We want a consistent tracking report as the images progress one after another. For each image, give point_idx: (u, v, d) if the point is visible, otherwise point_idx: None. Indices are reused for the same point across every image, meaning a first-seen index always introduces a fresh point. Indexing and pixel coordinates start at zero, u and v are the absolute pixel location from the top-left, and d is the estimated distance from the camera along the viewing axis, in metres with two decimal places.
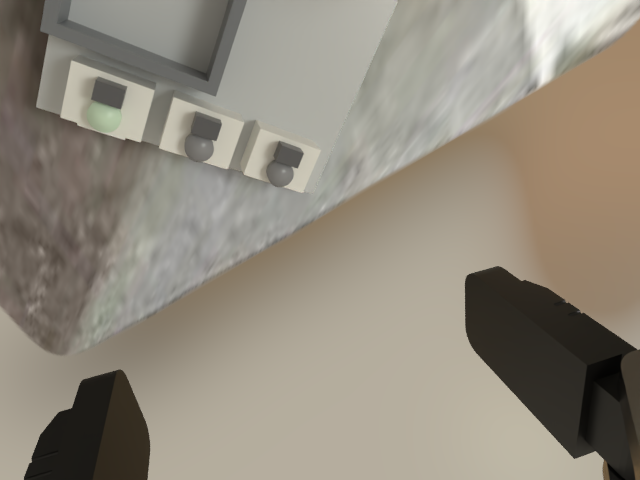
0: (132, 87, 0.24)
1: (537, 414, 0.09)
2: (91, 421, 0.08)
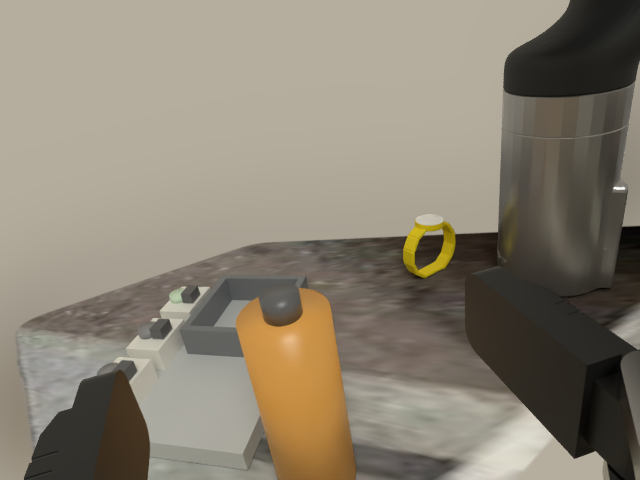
0: (192, 305, 0.41)
1: (537, 414, 0.09)
2: (91, 421, 0.08)
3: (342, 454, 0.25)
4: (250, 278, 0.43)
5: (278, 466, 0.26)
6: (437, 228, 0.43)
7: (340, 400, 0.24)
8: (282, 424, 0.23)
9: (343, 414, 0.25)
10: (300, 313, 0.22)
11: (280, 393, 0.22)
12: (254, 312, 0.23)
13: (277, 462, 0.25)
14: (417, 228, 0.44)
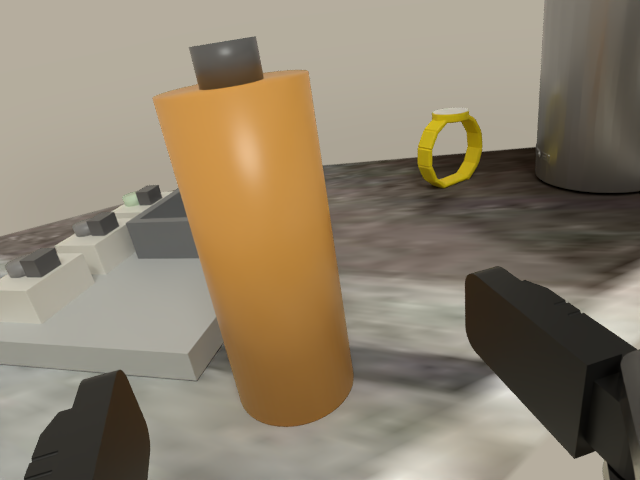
0: (150, 206, 0.32)
1: (537, 414, 0.09)
2: (91, 421, 0.08)
3: (330, 334, 0.16)
4: None
5: (232, 354, 0.17)
6: (460, 118, 0.35)
7: (326, 240, 0.15)
8: (230, 265, 0.14)
9: (331, 268, 0.16)
10: (258, 74, 0.14)
11: (223, 201, 0.13)
12: (188, 89, 0.15)
13: (230, 347, 0.16)
14: (435, 121, 0.35)
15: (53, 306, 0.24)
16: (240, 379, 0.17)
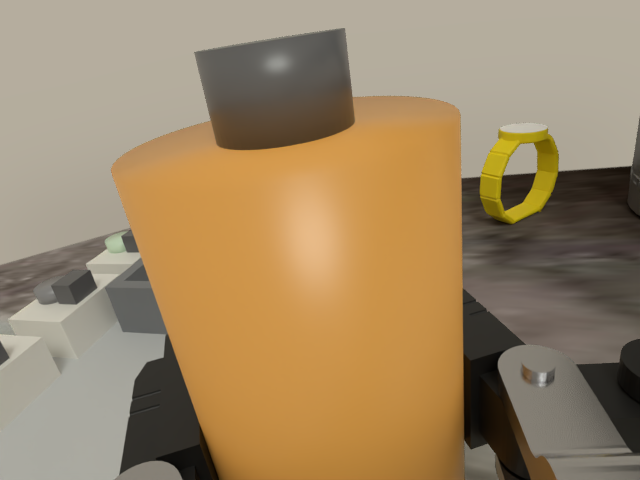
0: None
1: None
2: None
3: None
4: None
5: None
6: (539, 138, 0.27)
7: (462, 431, 0.08)
8: None
9: None
10: (349, 113, 0.06)
11: (272, 409, 0.06)
12: (192, 137, 0.07)
13: None
14: (504, 141, 0.28)
15: None
16: None
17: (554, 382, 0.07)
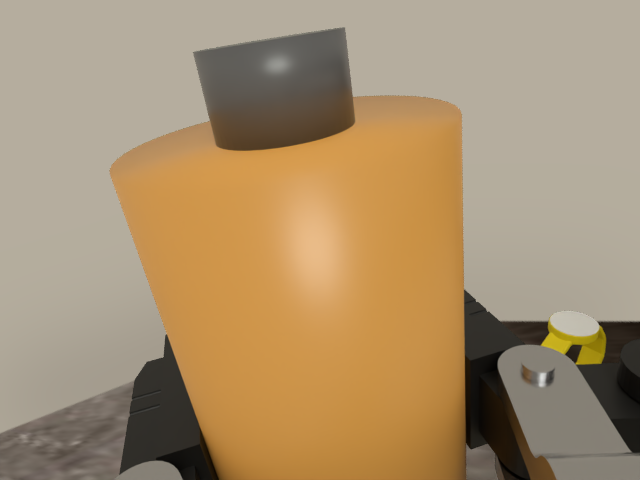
0: None
1: None
2: None
3: None
4: None
5: None
6: (591, 340, 0.27)
7: (463, 433, 0.08)
8: None
9: (464, 473, 0.08)
10: (349, 113, 0.06)
11: (274, 412, 0.06)
12: (191, 138, 0.07)
13: None
14: (555, 337, 0.28)
15: None
16: None
17: (554, 382, 0.07)
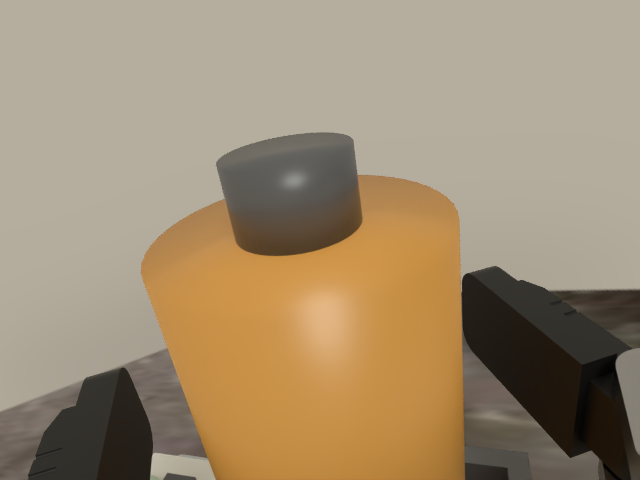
0: None
1: (534, 414, 0.09)
2: (95, 418, 0.08)
3: None
4: None
5: None
6: None
7: None
8: None
9: None
10: (357, 216, 0.07)
11: None
12: (211, 226, 0.08)
13: None
14: None
15: None
16: None
17: None
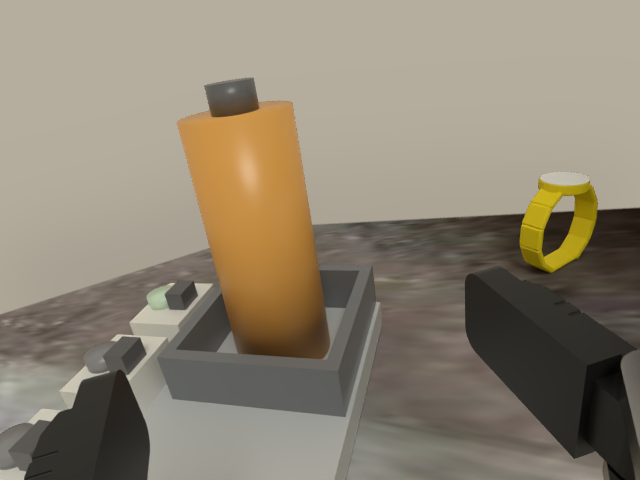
0: (184, 312, 0.24)
1: (537, 415, 0.09)
2: (91, 421, 0.08)
3: (310, 304, 0.21)
4: None
5: (233, 320, 0.21)
6: (582, 190, 0.27)
7: (306, 230, 0.20)
8: (233, 247, 0.19)
9: (311, 252, 0.21)
10: (255, 105, 0.18)
11: (229, 198, 0.18)
12: (202, 115, 0.19)
13: (232, 314, 0.21)
14: (545, 191, 0.28)
15: None
16: (239, 341, 0.22)
17: None
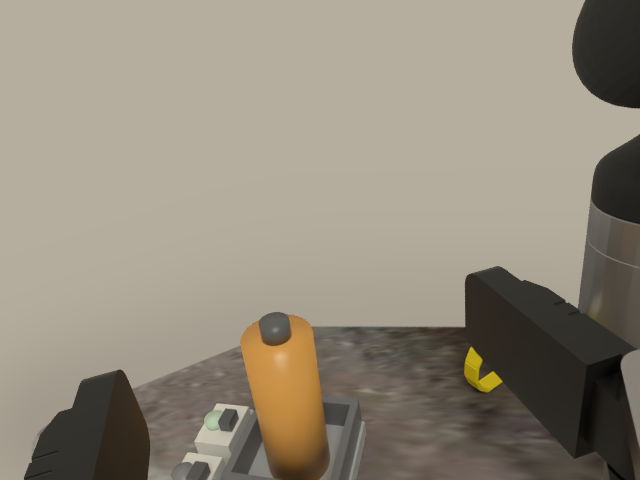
0: (231, 434, 0.36)
1: (537, 415, 0.09)
2: (91, 421, 0.08)
3: (320, 443, 0.33)
4: None
5: (269, 453, 0.33)
6: None
7: (319, 401, 0.32)
8: (274, 419, 0.30)
9: (321, 412, 0.32)
10: (290, 335, 0.30)
11: (274, 396, 0.29)
12: (254, 334, 0.31)
13: (269, 450, 0.33)
14: None
15: None
16: (273, 465, 0.33)
17: None
